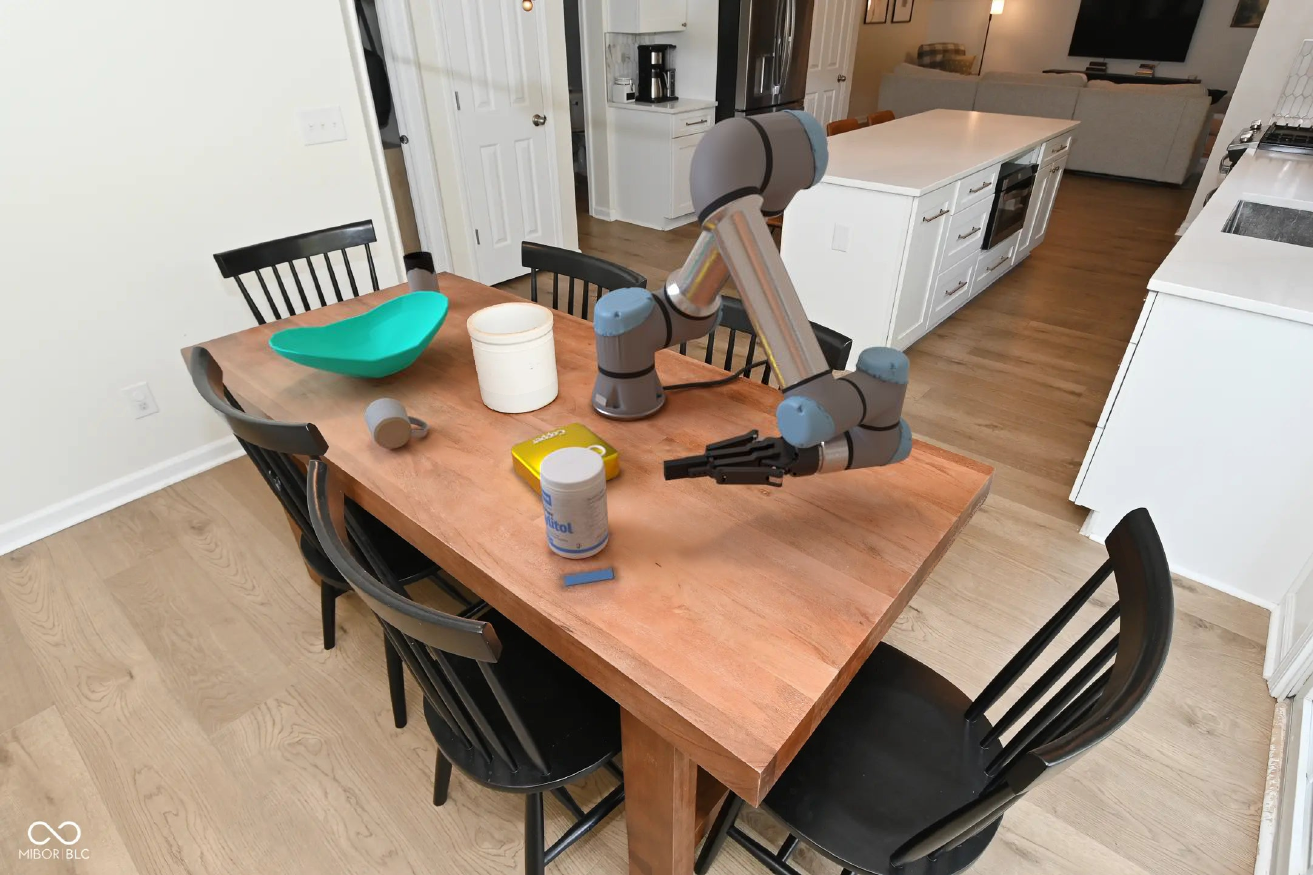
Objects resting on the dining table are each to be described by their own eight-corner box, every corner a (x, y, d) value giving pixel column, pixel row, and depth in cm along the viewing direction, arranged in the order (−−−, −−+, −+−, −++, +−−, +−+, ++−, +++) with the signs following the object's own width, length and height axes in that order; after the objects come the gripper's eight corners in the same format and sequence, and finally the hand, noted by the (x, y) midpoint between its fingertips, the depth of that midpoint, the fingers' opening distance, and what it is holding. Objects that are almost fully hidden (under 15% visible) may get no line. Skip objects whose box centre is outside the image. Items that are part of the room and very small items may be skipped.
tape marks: (597, 500, 115) (597, 500, 115) (613, 578, 99) (613, 577, 99) (555, 506, 114) (555, 505, 114) (565, 586, 98) (565, 585, 98)
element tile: (580, 438, 132) (578, 417, 129) (624, 474, 121) (622, 451, 119) (510, 466, 124) (506, 444, 122) (550, 506, 114) (547, 483, 111)
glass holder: (409, 315, 187) (396, 261, 179) (420, 296, 199) (409, 245, 191) (441, 313, 188) (430, 259, 180) (450, 295, 200) (440, 244, 192)
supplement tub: (536, 550, 105) (524, 473, 97) (569, 515, 112) (560, 440, 104) (590, 569, 101) (582, 489, 93) (621, 530, 108) (616, 454, 100)
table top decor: (316, 424, 139) (296, 366, 131) (268, 381, 155) (248, 327, 148) (483, 361, 162) (474, 308, 155) (426, 329, 179) (415, 280, 171)
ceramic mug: (378, 456, 128) (368, 421, 124) (369, 436, 134) (360, 402, 130) (434, 440, 133) (427, 406, 128) (423, 422, 139) (416, 388, 134)
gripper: (798, 409, 110) (655, 427, 106) (832, 454, 99) (673, 475, 95) (794, 448, 114) (656, 466, 110) (826, 494, 103) (674, 516, 99)
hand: (664, 470), depth 103 cm, fingers closed
